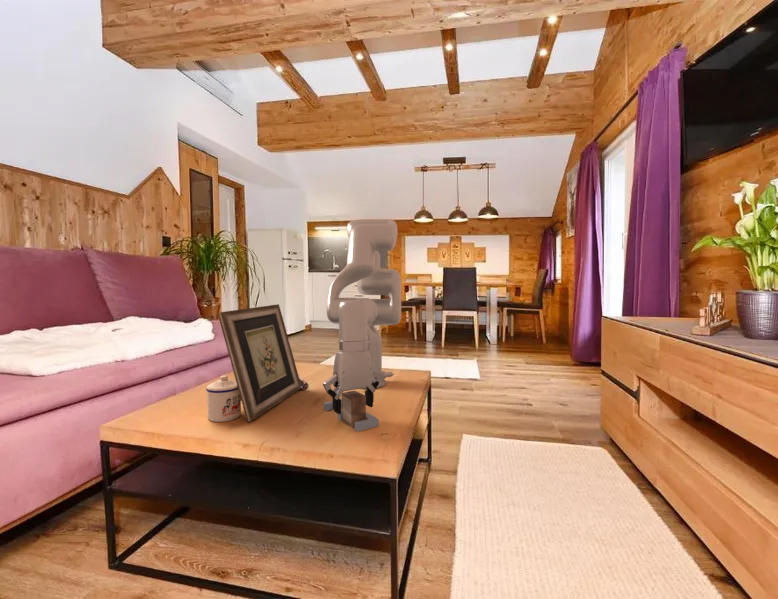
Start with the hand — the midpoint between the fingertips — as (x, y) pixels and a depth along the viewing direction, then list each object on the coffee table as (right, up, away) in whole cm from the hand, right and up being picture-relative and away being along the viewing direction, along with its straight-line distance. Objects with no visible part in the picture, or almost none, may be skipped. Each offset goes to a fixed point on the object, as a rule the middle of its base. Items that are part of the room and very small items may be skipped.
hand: (353, 409), depth 105 cm
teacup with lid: (-36, -4, +7) cm, 37 cm away
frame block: (0, -4, 0) cm, 4 cm away
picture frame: (-29, -3, +17) cm, 34 cm away
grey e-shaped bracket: (-2, -4, +5) cm, 6 cm away
